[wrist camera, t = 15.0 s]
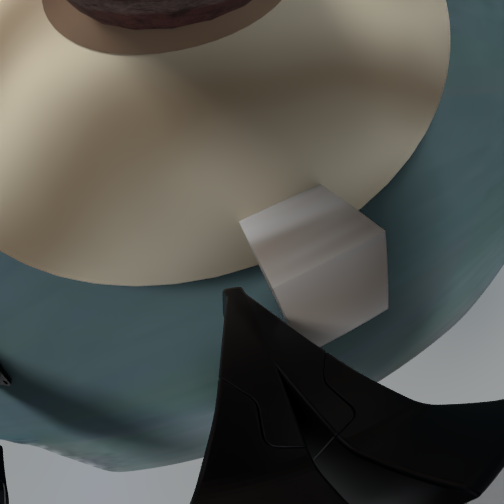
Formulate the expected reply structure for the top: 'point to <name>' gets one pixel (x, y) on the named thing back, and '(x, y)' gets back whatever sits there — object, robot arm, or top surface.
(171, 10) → the can
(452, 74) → the top surface
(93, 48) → the turntable
